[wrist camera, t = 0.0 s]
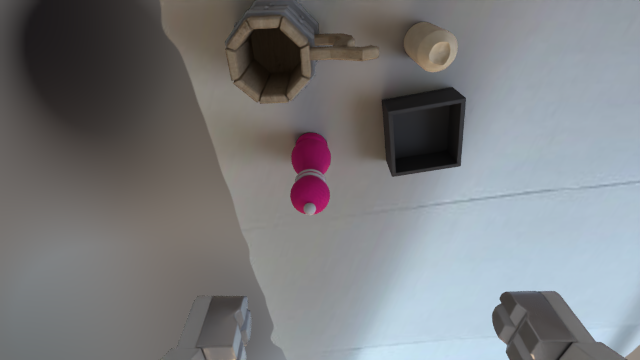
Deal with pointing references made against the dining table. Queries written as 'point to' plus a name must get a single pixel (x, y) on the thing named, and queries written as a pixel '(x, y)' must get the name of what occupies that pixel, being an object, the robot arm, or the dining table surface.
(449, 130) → the box
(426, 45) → the candle
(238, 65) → the tankard
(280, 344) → the dining table surface
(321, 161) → the pepper mill
